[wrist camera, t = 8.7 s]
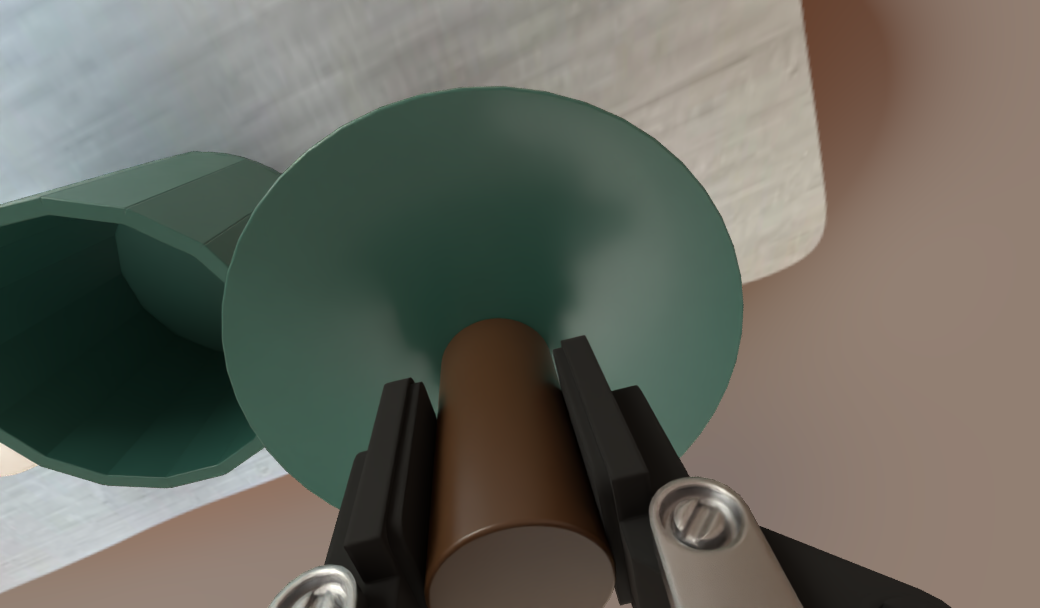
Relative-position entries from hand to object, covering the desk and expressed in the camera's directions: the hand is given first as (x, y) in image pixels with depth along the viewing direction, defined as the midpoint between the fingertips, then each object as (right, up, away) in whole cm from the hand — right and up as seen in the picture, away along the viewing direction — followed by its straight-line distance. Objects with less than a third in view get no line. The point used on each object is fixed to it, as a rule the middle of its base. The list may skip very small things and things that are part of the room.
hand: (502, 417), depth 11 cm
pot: (-16, +5, +17) cm, 24 cm away
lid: (0, +1, +2) cm, 3 cm away
